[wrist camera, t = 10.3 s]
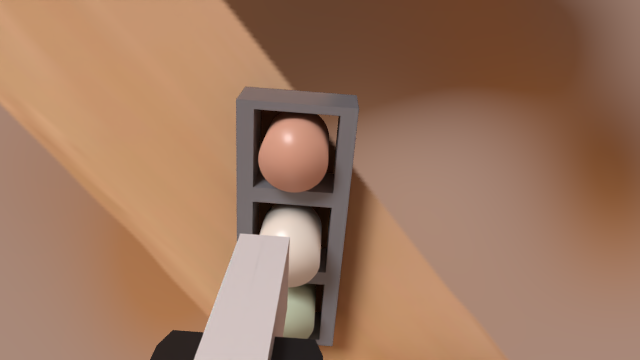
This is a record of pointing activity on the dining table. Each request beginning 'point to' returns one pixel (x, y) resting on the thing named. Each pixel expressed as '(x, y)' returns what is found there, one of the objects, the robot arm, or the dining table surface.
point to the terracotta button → (295, 151)
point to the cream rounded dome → (297, 238)
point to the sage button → (300, 311)
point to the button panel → (324, 194)
